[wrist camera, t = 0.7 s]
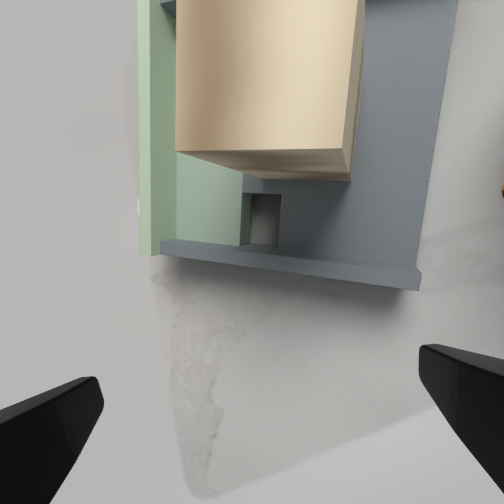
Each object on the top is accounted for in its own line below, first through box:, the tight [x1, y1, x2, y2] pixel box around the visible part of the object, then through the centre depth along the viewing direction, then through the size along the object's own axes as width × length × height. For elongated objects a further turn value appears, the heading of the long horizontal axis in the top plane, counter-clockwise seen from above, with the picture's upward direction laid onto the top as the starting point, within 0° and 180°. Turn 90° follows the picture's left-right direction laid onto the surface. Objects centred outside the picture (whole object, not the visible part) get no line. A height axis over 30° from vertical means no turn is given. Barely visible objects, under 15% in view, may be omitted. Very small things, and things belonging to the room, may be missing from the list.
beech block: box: [175, 0, 365, 181], centre depth 13 cm, size 6×6×10 cm
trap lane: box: [137, 0, 458, 291], centre depth 18 cm, size 18×18×5 cm
